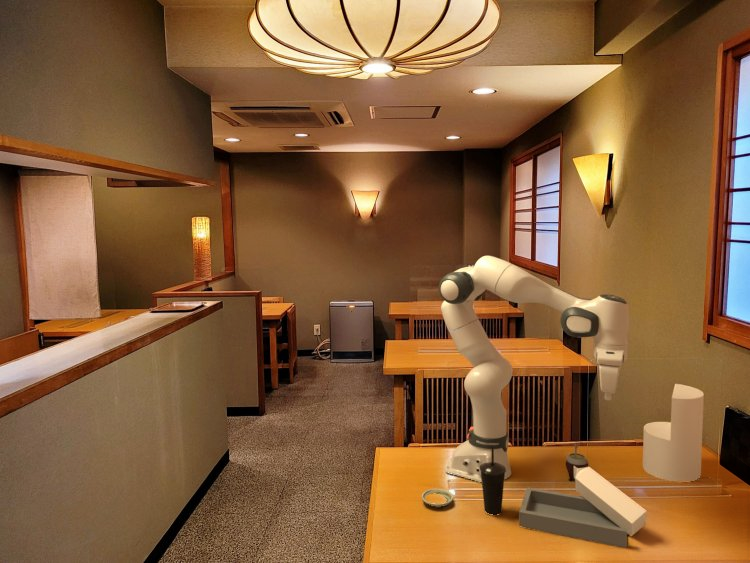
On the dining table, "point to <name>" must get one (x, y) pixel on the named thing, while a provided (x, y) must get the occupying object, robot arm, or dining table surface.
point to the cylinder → (676, 438)
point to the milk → (609, 500)
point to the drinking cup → (492, 485)
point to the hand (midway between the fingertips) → (608, 398)
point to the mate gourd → (575, 463)
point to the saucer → (441, 492)
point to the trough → (569, 517)
